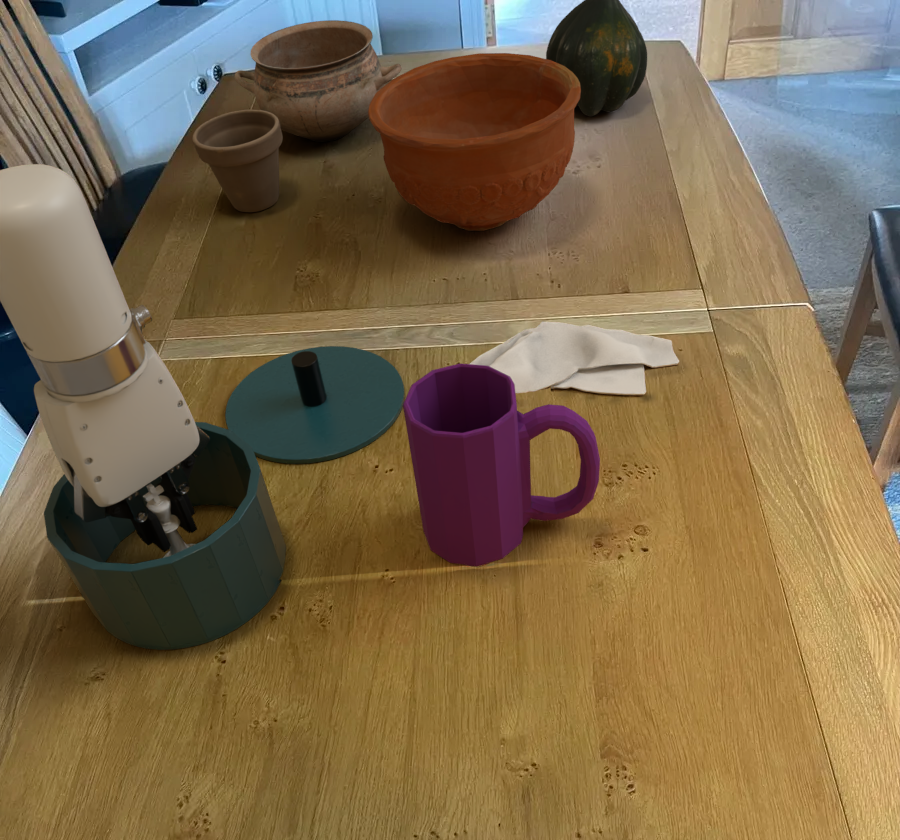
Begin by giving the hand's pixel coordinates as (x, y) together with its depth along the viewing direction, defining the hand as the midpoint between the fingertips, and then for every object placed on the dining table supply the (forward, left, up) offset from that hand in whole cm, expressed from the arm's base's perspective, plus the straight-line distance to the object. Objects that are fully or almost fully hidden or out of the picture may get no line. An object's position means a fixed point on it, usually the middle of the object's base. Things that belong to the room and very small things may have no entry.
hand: (171, 532), depth 80 cm
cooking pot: (+7, +89, -5) cm, 89 cm away
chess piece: (0, 0, -5) cm, 5 cm away
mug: (+29, +2, -5) cm, 30 cm away
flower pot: (-2, +69, -5) cm, 69 cm away
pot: (0, 0, -5) cm, 5 cm away
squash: (+47, +89, -5) cm, 101 cm away
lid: (+10, +22, -4) cm, 25 cm away
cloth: (+35, +26, -5) cm, 44 cm away
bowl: (+29, +59, -5) cm, 66 cm away
